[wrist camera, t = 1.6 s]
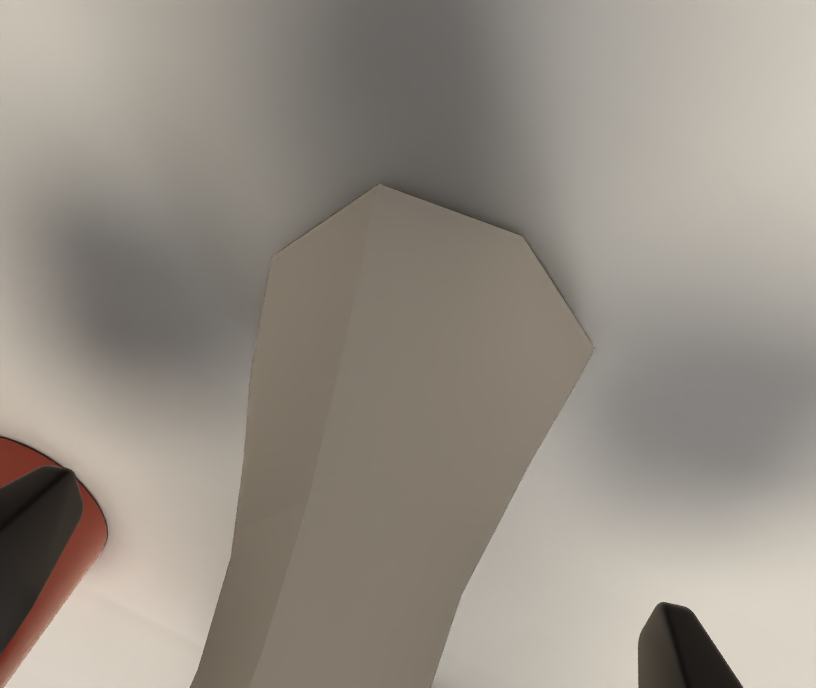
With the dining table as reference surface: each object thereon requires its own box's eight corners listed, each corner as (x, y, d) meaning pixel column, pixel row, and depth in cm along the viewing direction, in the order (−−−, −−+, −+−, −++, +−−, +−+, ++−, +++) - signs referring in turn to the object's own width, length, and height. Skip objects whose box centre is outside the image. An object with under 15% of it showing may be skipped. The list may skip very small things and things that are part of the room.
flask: (209, 355, 15) (-204, 872, 7) (368, 108, 11) (-154, 622, 3) (444, 507, 16) (344, 1087, 8) (659, 338, 12) (892, 1124, 4)
